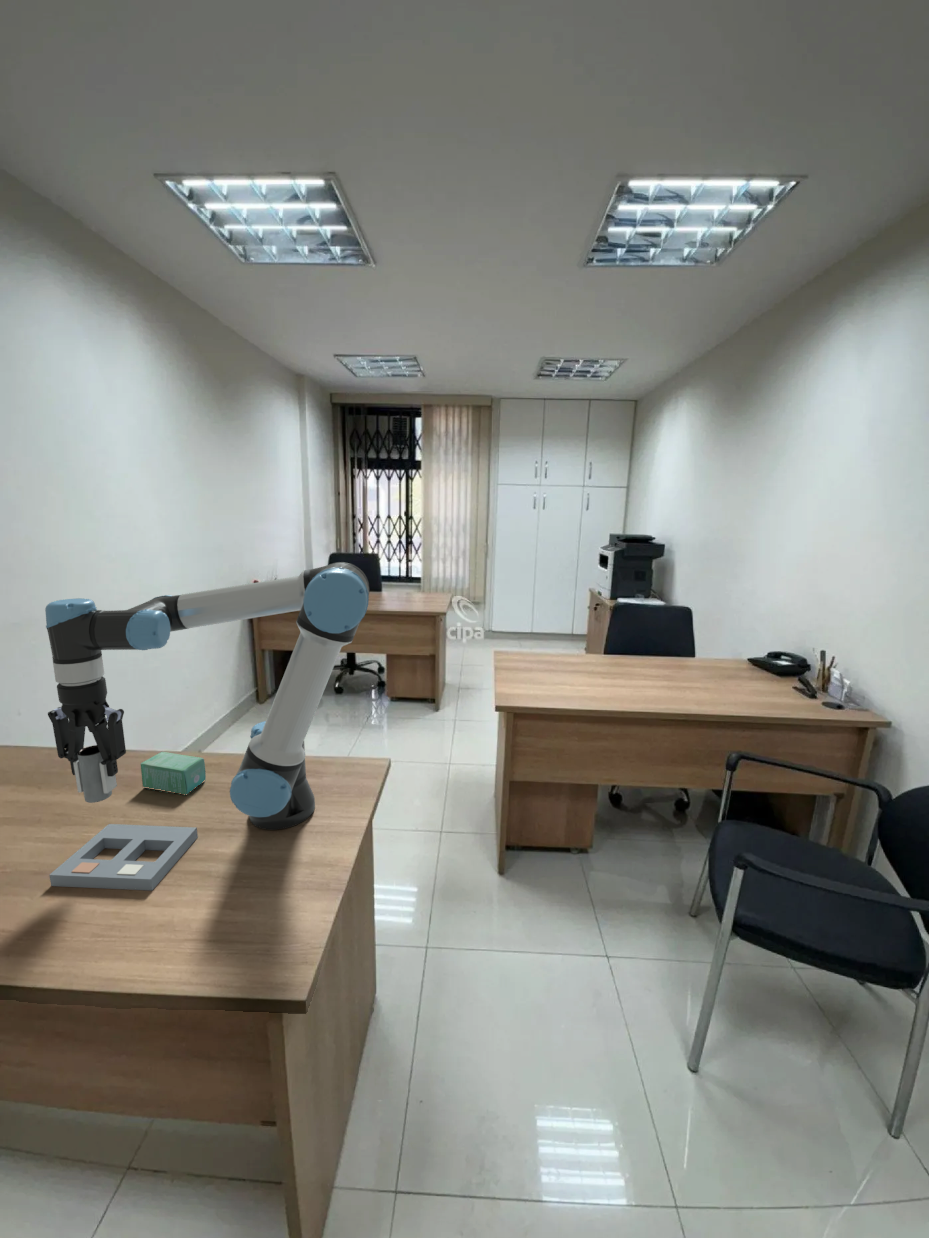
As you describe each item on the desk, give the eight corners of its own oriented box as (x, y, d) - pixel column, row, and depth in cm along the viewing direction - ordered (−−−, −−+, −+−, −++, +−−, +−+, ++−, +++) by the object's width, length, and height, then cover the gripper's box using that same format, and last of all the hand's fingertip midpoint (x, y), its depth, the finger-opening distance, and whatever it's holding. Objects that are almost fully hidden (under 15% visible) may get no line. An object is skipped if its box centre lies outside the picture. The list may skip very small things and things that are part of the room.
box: (187, 796, 128) (184, 769, 127) (142, 789, 131) (138, 763, 129) (207, 781, 135) (205, 756, 134) (164, 775, 138) (161, 750, 137)
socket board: (197, 837, 113) (196, 826, 112) (152, 890, 97) (150, 878, 97) (110, 833, 113) (108, 823, 113) (51, 886, 98) (49, 873, 97)
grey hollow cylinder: (93, 790, 104) (86, 745, 102) (117, 790, 104) (110, 744, 102) (79, 803, 100) (71, 755, 97) (103, 802, 100) (96, 755, 98)
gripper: (139, 674, 100) (152, 780, 105) (52, 671, 100) (69, 777, 106) (112, 688, 93) (127, 801, 98) (18, 684, 93) (39, 798, 98)
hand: (97, 788), depth 102 cm, fingers closed on grey hollow cylinder, 4 cm apart
